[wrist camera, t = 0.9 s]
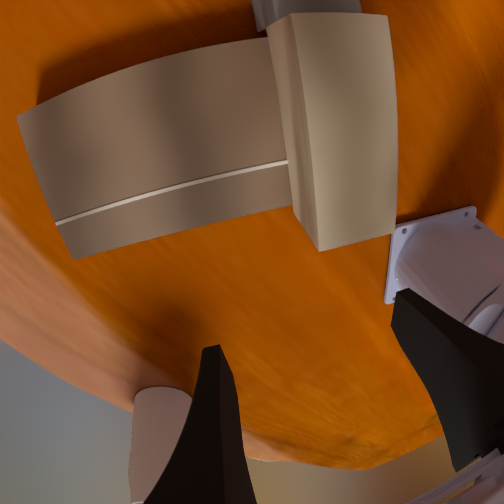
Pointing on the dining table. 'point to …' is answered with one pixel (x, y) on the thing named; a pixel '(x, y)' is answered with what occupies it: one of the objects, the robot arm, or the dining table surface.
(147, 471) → the mug
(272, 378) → the dining table surface
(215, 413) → the robot arm
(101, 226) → the plank
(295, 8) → the stepped beige block
